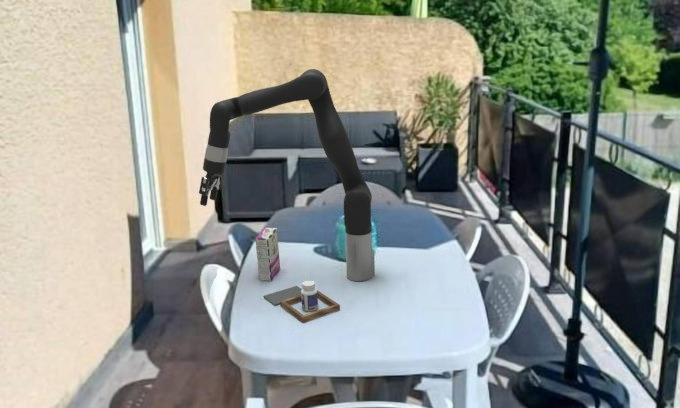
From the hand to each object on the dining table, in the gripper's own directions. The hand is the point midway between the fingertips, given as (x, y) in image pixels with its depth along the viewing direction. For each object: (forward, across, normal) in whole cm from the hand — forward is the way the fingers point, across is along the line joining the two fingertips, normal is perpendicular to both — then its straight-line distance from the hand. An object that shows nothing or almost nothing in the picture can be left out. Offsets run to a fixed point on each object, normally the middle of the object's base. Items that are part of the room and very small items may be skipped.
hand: (208, 202), depth 226 cm
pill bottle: (+19, -18, -46) cm, 53 cm away
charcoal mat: (+21, -11, -36) cm, 43 cm away
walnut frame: (+19, -18, -46) cm, 53 cm away
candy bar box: (+23, +6, -26) cm, 35 cm away
